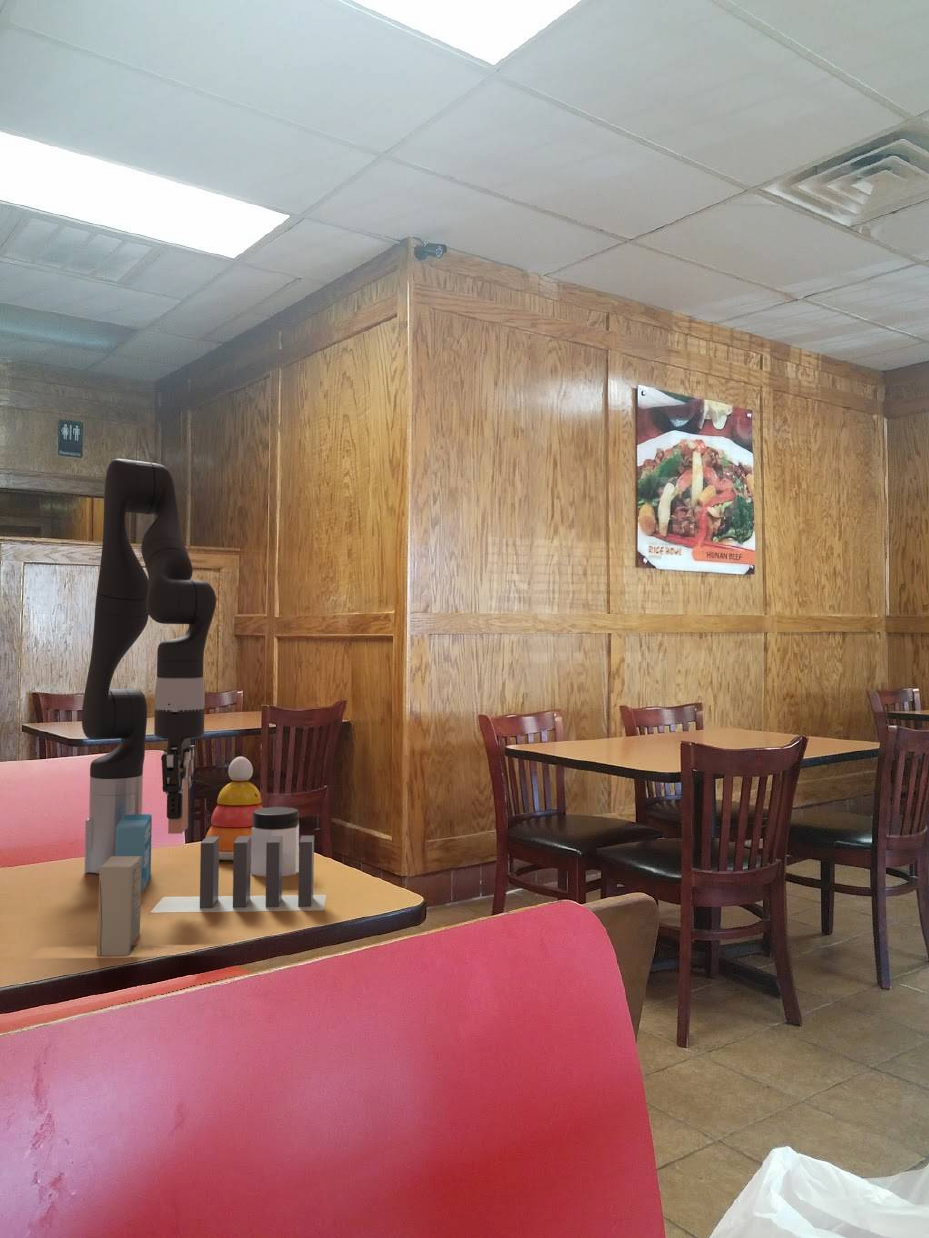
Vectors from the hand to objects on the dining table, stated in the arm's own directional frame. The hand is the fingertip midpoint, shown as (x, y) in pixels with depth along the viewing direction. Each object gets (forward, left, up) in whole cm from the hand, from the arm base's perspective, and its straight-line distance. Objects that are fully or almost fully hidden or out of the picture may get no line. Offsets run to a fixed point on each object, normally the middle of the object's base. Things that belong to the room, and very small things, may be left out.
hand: (178, 814), depth 150 cm
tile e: (+20, 0, -14) cm, 24 cm away
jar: (+13, +21, -15) cm, 29 cm away
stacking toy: (+4, +39, -15) cm, 42 cm away
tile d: (+15, 0, -14) cm, 20 cm away
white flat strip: (+10, 0, -15) cm, 18 cm away
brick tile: (0, 0, -2) cm, 2 cm away
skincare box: (-4, -18, -15) cm, 24 cm away
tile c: (+10, 0, -14) cm, 17 cm away
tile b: (+5, 0, -14) cm, 15 cm away
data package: (-10, +14, -15) cm, 23 cm away
